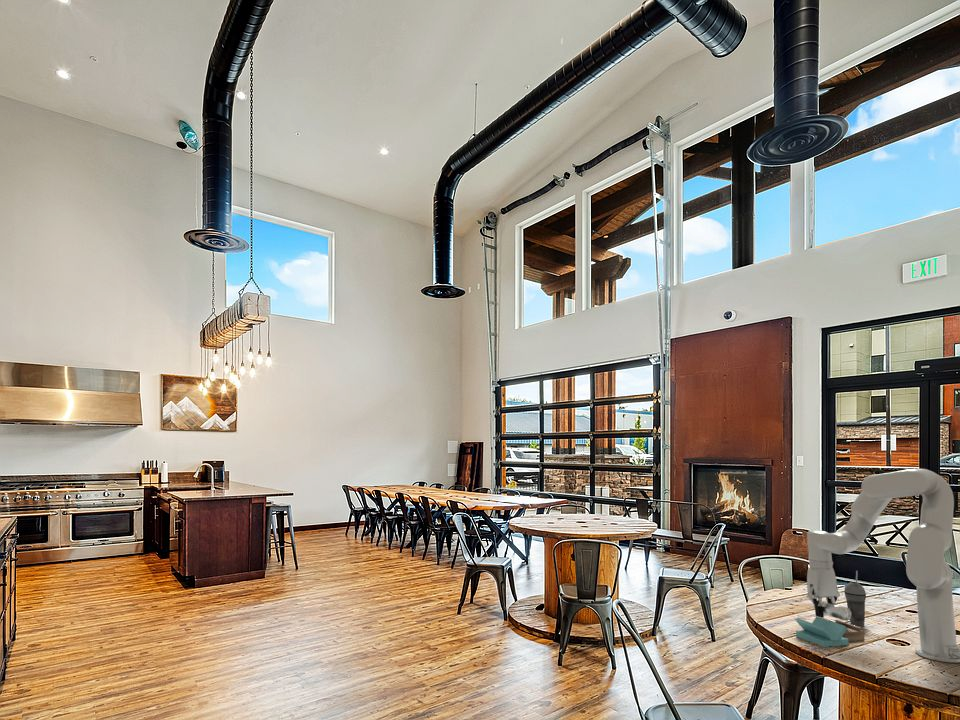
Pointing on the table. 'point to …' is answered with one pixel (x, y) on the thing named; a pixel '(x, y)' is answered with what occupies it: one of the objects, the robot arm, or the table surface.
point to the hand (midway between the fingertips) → (825, 615)
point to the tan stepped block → (851, 631)
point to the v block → (822, 632)
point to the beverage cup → (856, 602)
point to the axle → (836, 611)
